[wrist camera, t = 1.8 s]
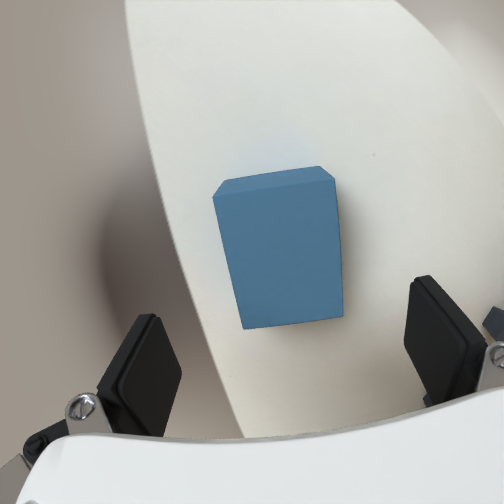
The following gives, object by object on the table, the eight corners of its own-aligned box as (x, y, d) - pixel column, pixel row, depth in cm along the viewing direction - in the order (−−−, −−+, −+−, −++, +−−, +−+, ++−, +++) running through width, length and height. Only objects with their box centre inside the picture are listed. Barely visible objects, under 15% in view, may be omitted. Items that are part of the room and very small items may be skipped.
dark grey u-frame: (493, 305, 20) (507, 321, 18) (545, 329, 21) (555, 341, 19) (422, 398, 25) (429, 416, 22) (489, 401, 26) (496, 415, 24)
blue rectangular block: (320, 165, 17) (334, 177, 13) (331, 281, 20) (343, 316, 16) (223, 180, 17) (212, 196, 14) (247, 293, 20) (243, 330, 17)
